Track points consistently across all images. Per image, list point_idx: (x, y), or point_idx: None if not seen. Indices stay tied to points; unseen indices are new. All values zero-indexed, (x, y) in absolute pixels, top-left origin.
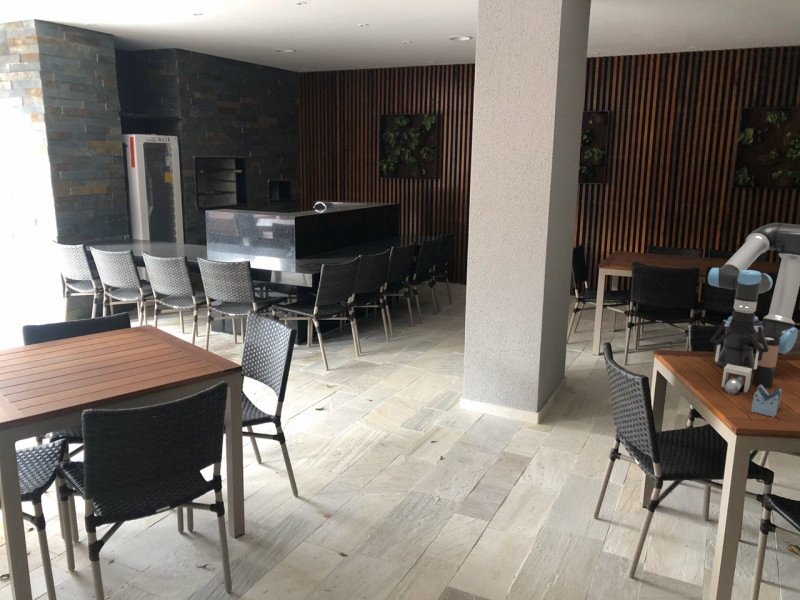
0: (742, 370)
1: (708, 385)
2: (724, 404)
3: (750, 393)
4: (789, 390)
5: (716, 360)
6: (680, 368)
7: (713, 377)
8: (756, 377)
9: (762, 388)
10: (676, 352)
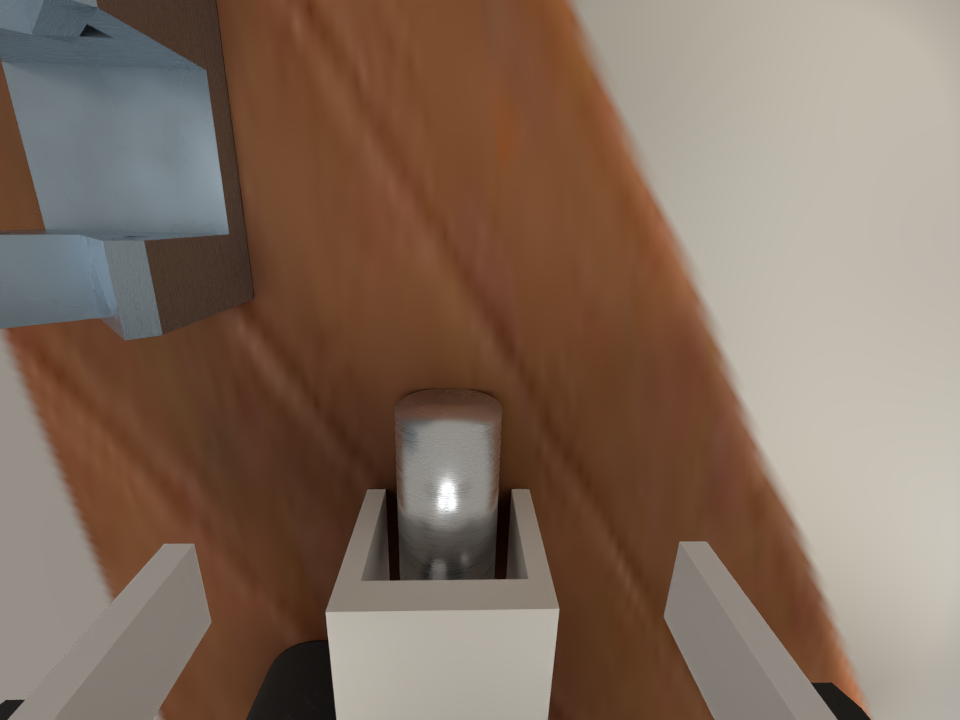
0: (397, 640)
1: (610, 466)
2: (446, 58)
3: (340, 484)
4: None
5: (695, 553)
6: None
7: (594, 637)
8: None
9: (99, 256)
10: None
